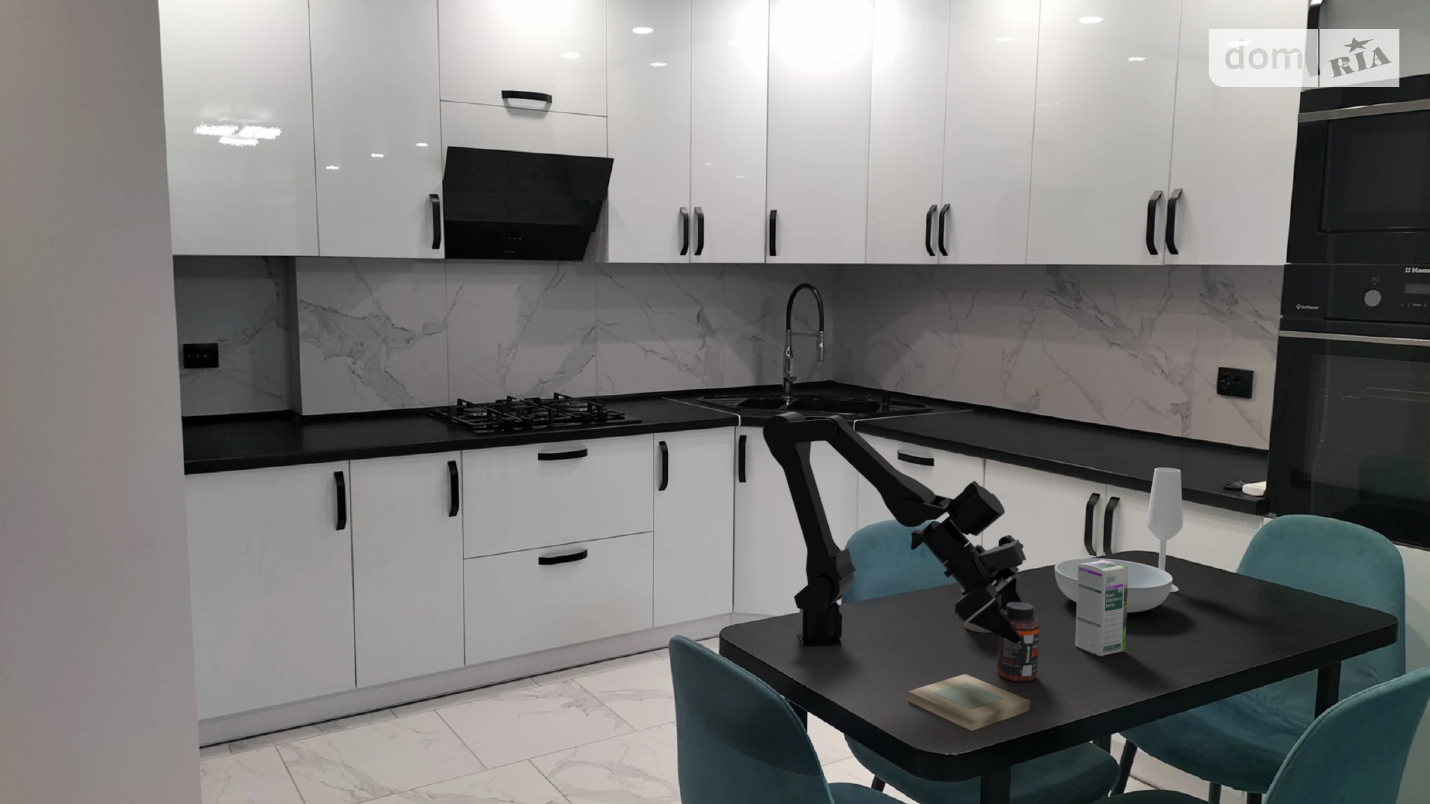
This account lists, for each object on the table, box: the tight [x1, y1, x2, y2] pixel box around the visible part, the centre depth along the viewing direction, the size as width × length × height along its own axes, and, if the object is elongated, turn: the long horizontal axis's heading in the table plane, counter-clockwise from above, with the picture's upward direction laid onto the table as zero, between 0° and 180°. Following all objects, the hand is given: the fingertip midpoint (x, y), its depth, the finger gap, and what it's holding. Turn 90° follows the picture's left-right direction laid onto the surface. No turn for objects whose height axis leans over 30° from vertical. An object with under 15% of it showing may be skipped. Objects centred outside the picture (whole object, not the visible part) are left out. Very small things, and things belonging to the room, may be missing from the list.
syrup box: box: [1074, 560, 1128, 657], centre depth 171 cm, size 6×6×14 cm
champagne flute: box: [1145, 467, 1184, 593], centre depth 206 cm, size 7×7×24 cm
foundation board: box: [907, 673, 1031, 732], centre depth 148 cm, size 12×12×2 cm
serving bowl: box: [1054, 557, 1174, 614], centre depth 194 cm, size 21×21×7 cm
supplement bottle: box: [996, 602, 1040, 683], centre depth 159 cm, size 6×6×11 cm
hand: (1025, 632), depth 158 cm, fingers open, 9 cm apart
